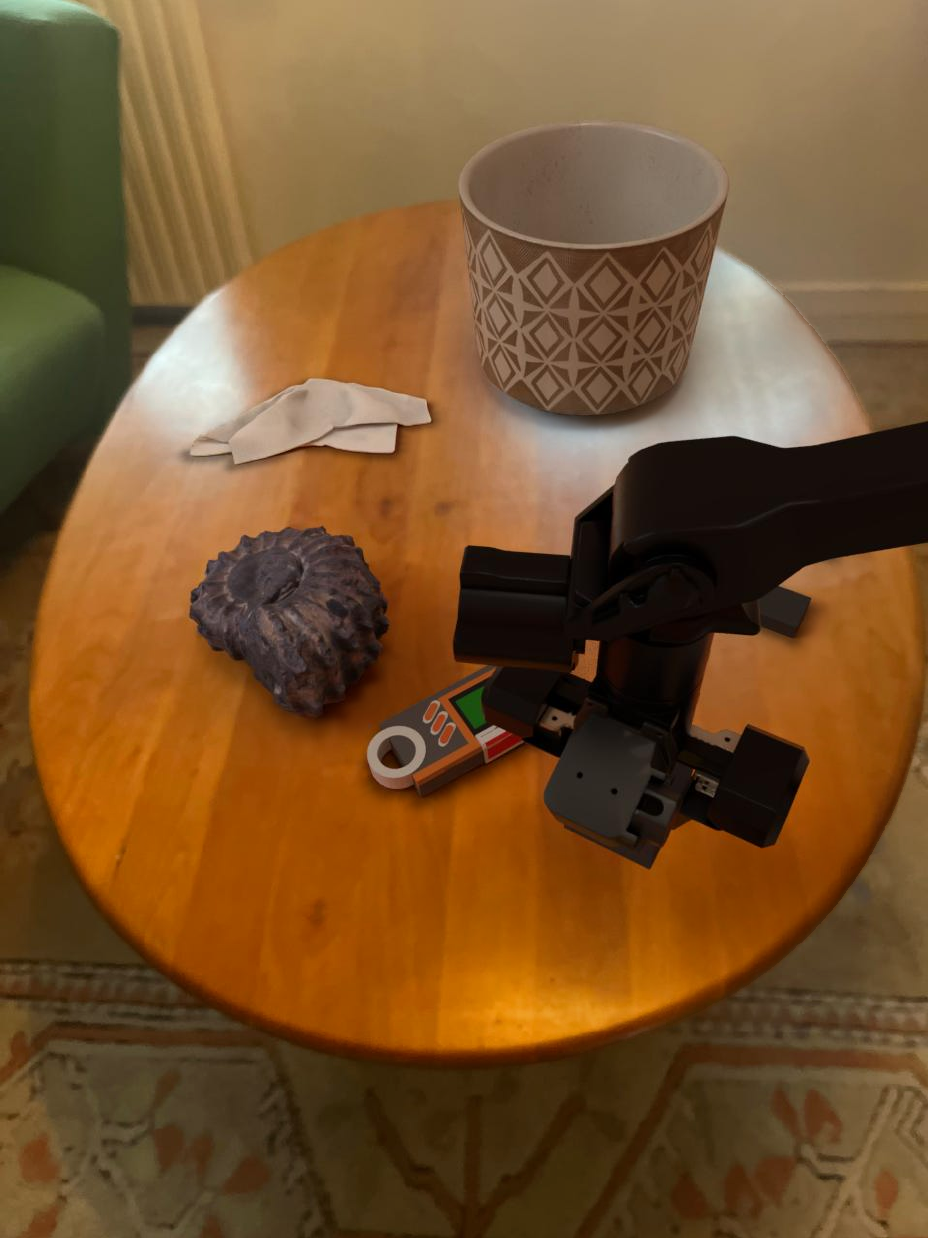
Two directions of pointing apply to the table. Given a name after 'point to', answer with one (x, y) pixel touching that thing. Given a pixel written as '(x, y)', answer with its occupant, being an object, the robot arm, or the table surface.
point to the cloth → (316, 421)
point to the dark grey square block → (649, 850)
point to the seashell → (294, 613)
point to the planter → (589, 260)
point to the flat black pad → (783, 610)
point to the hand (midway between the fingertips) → (626, 801)
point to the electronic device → (439, 738)
